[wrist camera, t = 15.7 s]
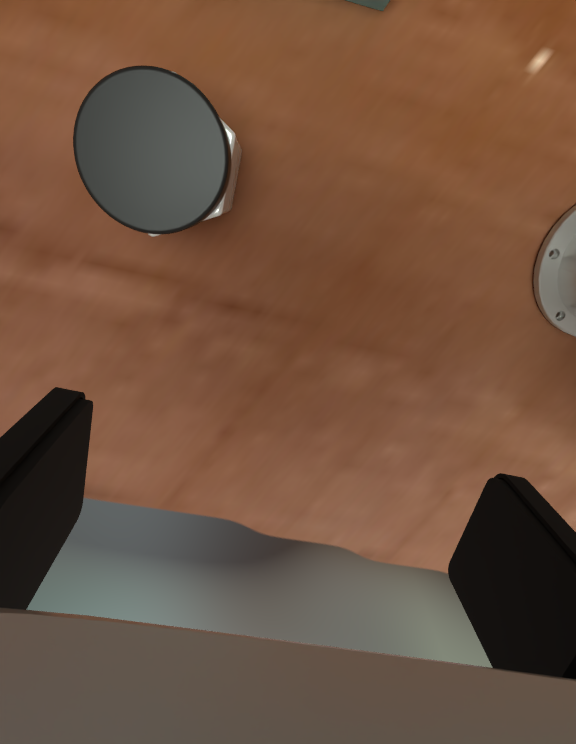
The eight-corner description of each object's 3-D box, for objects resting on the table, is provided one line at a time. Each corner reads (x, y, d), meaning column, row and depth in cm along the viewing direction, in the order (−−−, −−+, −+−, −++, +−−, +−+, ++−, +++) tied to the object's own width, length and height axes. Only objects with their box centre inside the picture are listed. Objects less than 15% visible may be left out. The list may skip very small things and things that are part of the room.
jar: (223, 89, 34) (204, 36, 22) (258, 203, 36) (256, 206, 25) (109, 128, 34) (34, 95, 23) (152, 237, 37) (104, 255, 26)
